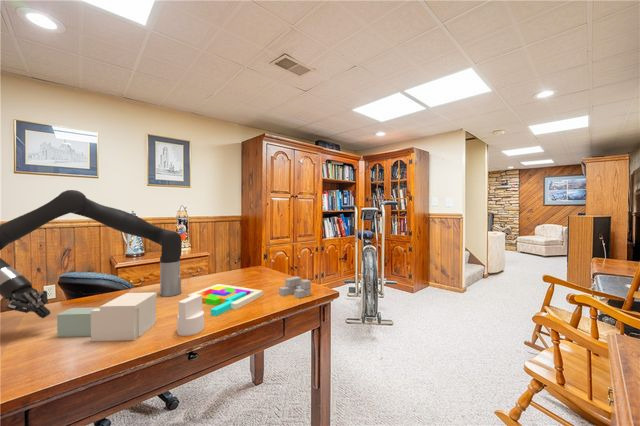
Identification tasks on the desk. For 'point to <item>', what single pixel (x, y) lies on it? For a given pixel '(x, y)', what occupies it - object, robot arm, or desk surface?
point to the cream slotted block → (124, 317)
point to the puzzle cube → (296, 287)
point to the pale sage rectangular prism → (74, 322)
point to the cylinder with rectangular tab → (190, 316)
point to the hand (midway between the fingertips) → (47, 315)
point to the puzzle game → (227, 297)
